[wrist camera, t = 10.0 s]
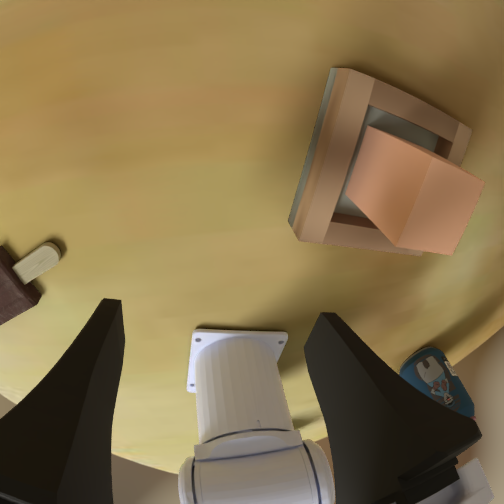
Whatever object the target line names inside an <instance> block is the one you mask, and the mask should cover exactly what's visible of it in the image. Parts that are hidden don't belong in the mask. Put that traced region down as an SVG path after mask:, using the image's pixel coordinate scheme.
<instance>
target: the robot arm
mask: <svg viewBox="0 0 504 504" xmlns="http://www.w3.org/2000/svg"><path fill="white" fill-rule="evenodd" d="M198 338H199V339H198ZM287 340H288V334H287V333H286V332H270V331H235V330H213V329H195V330H194V331H193V334H192V342H191V351H190V360H189V369H188V379H187V391H188V392H193V393H196V405H197V419H198V432H199V445H194V453H195V456H193V457H188V458H186V460H185V462H184V463H183V464H182V465H181V467H180V470H179V477H178V488H179V496H180V503H181V504H334V501H335V493H336V504H488V503H489V502H491V501H492V500H493V499H494V495H493V493H492V490H491V488H490V485H489V483H488V481H487V478H486V476H485V474H484V471H483V469H482V467H481V465H480V463H479V460H478V458H474V459H473V460H471V461H470V462H468V463H467V464H465V465H463V466H462V467H460V468H458V469H457V470H456V468H455V466H454V465H456V464H458V460H457V458H456V456H458V455H459V454H461V453H462V452H463V451H465V450H466V449H468V448H469V447H470V446H472V445H473V444H474V443H476V442H477V441H478V440H479V439H480V438H481V437H482V434H481V432H480V430H479V428H478V426H477V424H476V422H475V420H474V419H472V418H469V417H467V416H464V415H462V414H460V413H457V412H455V411H453V410H451V409H449V408H447V407H445V406H443V405H442V404H440V403H438V402H436V401H435V400H433V399H431V398H430V397H428V396H427V395H425V394H424V393H422V392H421V391H419V390H418V389H416V388H415V387H414V386H412V385H411V384H410V383H408V382H407V381H406V380H405V379H403V378H402V377H401V376H399V375H398V374H397V373H396V372H395V371H394V370H392V369H391V368H390V367H389V366H388V365H387V364H386V363H385V362H384V361H383V360H382V359H380V358H379V357H378V356H377V355H376V354H375V353H374V352H373V351H372V350H371V349H370V348H369V347H368V346H367V345H366V344H365V343H364V342H363V341H362V340H361V339H360V337H359V336H358V335H357V334H356V333H355V332H354V331H353V330H352V329H351V328H350V327H349V326H348V325H347V324H346V323H345V322H344V321H343V320H342V319H341V318H340V317H339V316H338V315H337V314H336V313H328V312H321V313H320V315H319V317H318V319H317V322H316V324H315V326H314V328H313V330H312V332H311V334H310V336H309V338H308V340H307V342H306V344H305V346H304V352H305V358H306V363H307V368H308V372H309V375H310V378H311V381H312V384H313V387H314V390H315V393H316V396H317V399H318V402H319V405H320V408H321V411H322V414H323V417H324V420H325V424H326V428H327V433H328V437H329V442H330V448H331V454H332V460H333V468H334V478H335V489H334V483H333V478H332V474H331V470H330V466H329V463H328V461H327V458H326V456H325V453H324V451H323V450H322V448H321V447H320V446H319V445H318V444H316V443H314V442H313V441H312V440H310V439H307V440H303V441H302V438H301V434H300V431H299V430H294V427H293V423H292V419H291V415H290V412H289V408H288V404H287V400H286V397H285V393H284V389H283V385H282V381H281V378H280V374H279V370H278V366H277V362H278V360H279V357H280V355H281V353H282V351H283V349H284V346H285V344H286V342H287ZM124 346H125V334H124V325H123V315H122V304H121V300H116V299H107V298H104V299H103V300H101V302H100V304H99V305H98V307H97V308H96V310H95V311H94V313H93V314H92V316H91V317H90V319H89V320H88V322H87V323H86V325H85V326H84V328H83V329H82V330H81V332H80V333H79V334H78V336H77V337H76V339H75V340H74V341H73V343H72V344H71V345H70V347H69V348H68V349H67V350H66V352H65V353H64V354H63V356H62V357H61V358H60V359H59V361H58V362H57V363H56V364H55V365H54V367H53V368H52V369H51V370H50V371H49V373H48V374H47V375H46V376H45V377H44V378H43V379H42V380H41V381H40V382H39V384H38V385H37V386H36V387H35V388H34V389H33V390H32V391H31V392H30V393H29V394H28V395H27V396H26V397H25V398H24V399H23V400H22V401H20V402H19V403H18V404H17V405H16V406H15V407H14V408H13V409H11V410H10V411H9V412H8V413H7V414H6V415H5V416H3V417H2V418H1V419H0V504H113V494H112V476H111V435H112V422H113V414H114V408H115V403H116V397H117V392H118V386H119V381H120V376H121V371H122V366H123V356H124ZM335 491H336V492H335Z"/></svg>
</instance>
